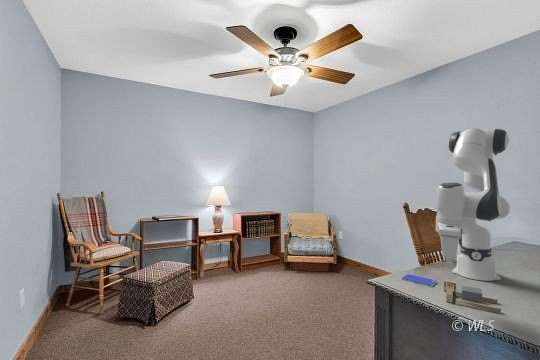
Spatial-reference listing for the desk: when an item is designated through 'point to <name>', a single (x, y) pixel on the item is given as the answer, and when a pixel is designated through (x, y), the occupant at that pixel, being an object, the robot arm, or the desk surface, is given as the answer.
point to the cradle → (474, 304)
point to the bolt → (449, 293)
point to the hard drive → (419, 280)
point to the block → (471, 294)
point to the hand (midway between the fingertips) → (449, 265)
